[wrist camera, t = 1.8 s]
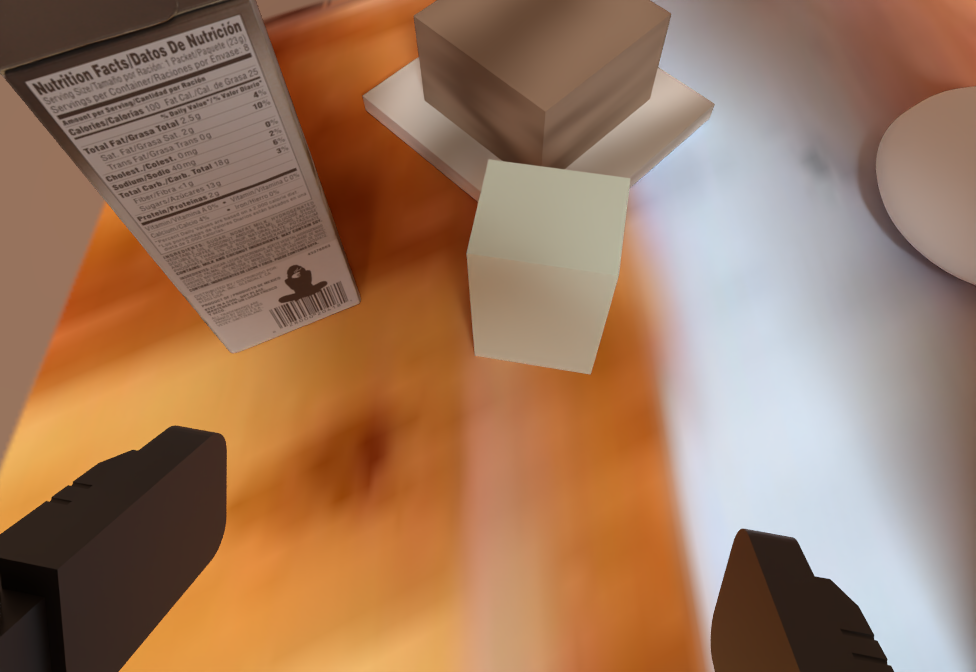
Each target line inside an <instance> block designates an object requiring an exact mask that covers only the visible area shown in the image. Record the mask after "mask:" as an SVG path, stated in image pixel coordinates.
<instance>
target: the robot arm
mask: <svg viewBox="0 0 976 672" xmlns="http://www.w3.org/2000/svg"><path fill="white" fill-rule="evenodd" d="M226 475H227V449H226V441H225V439H224V437H223V435H221V434H219V433H215V432H209V431H203V430H198V429H192V428H187V427H181V426H171V427H169V428H168V429H166V430H165V431H164V432H162V433H161V434H160V435H158V436H157V437H156V438H154V439H153V440H152V441H150V442H149V443H148V444H147V445H145V446H144V447H143V448H141V449H140V450H139V451H136V450H131V451H128V452H126V453H123V454H121V455H118V456H116V457H113V458H111V459H108V460H106V461H103V462H100V463H98V464H97V465H95V466H94V467H93V468H91V469H90V470H89V471H87V472H86V473H84V474H83V475H82V476H80V477H79V478H77V479H76V480H75V481H73V484H72V486H69V485H68V486H66V487H65V488H64V489H62V490H61V491H60V492H58V493H57V494H55V495H54V496H53V497H52V499H51V501H50V502H48V501H46V502H44V503H43V504H42V505H40V506H39V507H37V508H36V509H35V510H33V511H32V512H31V513H29V514H28V515H26V516H25V517H24V518H22V519H21V520H20V521H18V522H17V523H15V524H14V525H13V526H11V527H10V528H8V529H7V530H6V531H4V532H3V533H2V534H0V672H119V670H120V669H121V668H122V667H123V666H124V664H125V663H126V662H127V661H128V660H129V658H130V657H131V656H132V655H133V654H134V652H135V651H136V650H137V649H138V648H139V646H140V645H141V644H142V643H143V642H144V640H145V639H146V638H147V637H148V636H149V634H150V633H151V632H152V631H153V630H154V628H155V627H156V626H157V625H158V624H159V622H160V621H161V620H162V619H163V618H164V616H165V615H166V614H167V613H168V612H169V610H170V609H171V608H172V607H173V606H174V604H175V603H176V602H177V601H178V600H179V598H180V597H181V596H182V595H183V594H184V592H185V591H186V590H187V589H188V588H189V586H190V585H191V584H192V583H193V582H194V580H195V579H196V578H197V577H198V576H199V574H200V573H201V572H202V571H203V570H204V568H205V567H206V566H207V565H208V564H209V562H210V561H211V560H212V559H213V557H214V556H215V554H216V552H217V550H218V548H219V546H220V544H221V541H222V538H223V535H224V531H225V525H226ZM711 654H712V661H713V665H714V669H715V672H894V671H893V669H892V667H891V666H889V665H887V658H886V656H885V654H884V652H883V650H882V649H881V647H880V645H879V643H878V641H875V640H874V634H873V632H872V630H871V628H870V627H869V625H868V623H867V621H866V619H865V617H864V616H863V614H862V612H861V610H860V608H859V606H858V605H857V604H855V603H854V602H853V601H852V600H851V599H850V598H849V597H848V596H847V595H846V594H845V593H844V592H843V591H842V590H841V589H840V588H839V587H838V586H837V585H836V584H835V583H834V582H833V581H831V580H830V579H826V578H820V577H815V576H814V574H813V572H812V570H811V568H810V566H809V564H808V562H807V560H806V558H805V556H804V554H803V552H802V550H801V548H800V546H799V544H798V542H797V540H796V539H795V538H793V537H787V536H782V535H776V534H771V533H765V532H759V531H754V530H748V529H740V530H739V531H738V533H737V534H736V537H735V539H734V542H733V545H732V549H731V552H730V556H729V560H728V563H727V567H726V571H725V574H724V578H723V581H722V585H721V589H720V592H719V596H718V599H717V603H716V607H715V610H714V614H713V620H712V627H711Z"/></svg>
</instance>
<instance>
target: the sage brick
mask: <svg viewBox="0 0 976 672" xmlns="http://www.w3.org/2000/svg"><path fill="white" fill-rule="evenodd" d="M629 187H630V178H625V177H617V176H610V175H602V174H595V173H587V172H580V171H572V170H565V169H557V168H550V167H542V166H535V165H527V164H520V163H512V162H505V161H497V160H490V159H489V160H488V164H487V168H486V172H485V177H484V181H483V185H482V189H481V194H480V198H479V202H478V206H477V211H476V215H475V219H474V223H473V227H472V232H471V236H470V240H469V244H468V249H467V253H466V255H467V267H468V279H469V291H470V304H471V316H472V328H473V340H474V352H475V356H480V357H486V358H492V359H498V360H504V361H511V362H517V363H523V364H529V365H535V366H542V367H548V368H554V369H560V370H566V371H573V372H579V373H585V374H591V372H592V368H593V365H594V361H595V358H596V354H597V351H598V347H599V343H600V340H601V336H602V333H603V329H604V326H605V322H606V319H607V315H608V312H609V308H610V305H611V301H612V298H613V294H614V291H615V287H616V284H617V280H618V277H619V270H620V261H621V253H622V245H623V236H624V228H625V220H626V211H627V203H628V195H629Z"/></svg>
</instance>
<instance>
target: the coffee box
mask: <svg viewBox="0 0 976 672" xmlns="http://www.w3.org/2000/svg"><path fill="white" fill-rule="evenodd" d="M0 74H1V75H2V76H3V77H4V78H5V79H6V81H7V82H8V83H9V84H10V85H11V86H12V88H13V89H14V90H15V92H16V93H17V94H18V95H19V96H20V97H21V99H22V100H23V101H24V102H25V103H26V105H27V106H28V107H29V108H30V109H31V111H32V112H33V113H34V115H35V116H36V117H37V118H38V120H39V121H40V122H41V123H42V124H43V126H44V127H45V128H46V129H47V130H48V131H49V133H50V134H51V135H52V136H53V137H54V139H55V140H56V141H57V142H58V144H59V145H60V146H61V147H62V149H63V150H64V151H65V152H66V153H67V154H68V156H69V157H70V158H71V159H72V161H73V162H74V163H75V164H76V166H77V167H78V168H79V169H80V170H81V172H82V173H83V174H84V175H85V177H86V178H87V179H88V180H89V182H91V184H92V185H93V186H94V187H95V189H96V190H97V191H98V192H99V194H100V195H101V196H102V197H103V199H104V200H105V201H106V202H107V203H108V204H109V206H110V207H111V208H112V210H113V211H114V212H115V213H116V215H117V216H118V217H119V218H120V219H121V221H122V222H123V223H124V224H125V225H126V227H127V228H128V229H129V230H130V232H131V233H132V234H133V235H134V236H135V238H136V239H137V240H138V241H139V242H140V244H141V245H142V246H143V247H144V248H145V250H146V251H147V252H148V253H149V255H150V256H151V257H152V258H153V260H154V261H155V262H156V263H157V264H158V266H159V267H160V268H161V269H162V270H163V272H164V273H165V274H166V275H167V276H168V278H169V279H170V280H171V281H172V283H173V284H174V285H175V286H176V287H177V289H178V290H179V291H180V292H181V293H182V295H183V296H184V297H185V298H186V299H187V301H188V302H189V303H190V304H191V306H192V307H193V308H194V309H195V310H196V311H197V312H198V314H199V315H200V317H201V318H202V319H203V321H204V322H205V323H206V324H207V325H208V326H209V327H210V329H211V330H212V331H213V333H214V334H215V335H216V336H217V337H218V338H219V340H220V341H221V342H222V343H223V344H224V345H225V347H226V348H227V349H228V350H229V351H230V352H231V353H237V352H240V351H243V350H246V349H248V348H250V347H253V346H255V345H258V344H260V343H263V342H265V341H268V340H270V339H273V338H275V337H278V336H280V335H283V334H285V333H288V332H290V331H293V330H295V329H298V328H300V327H303V326H305V325H308V324H310V323H313V322H315V321H317V320H320V319H322V318H325V317H327V316H330V315H332V314H335V313H337V312H340V311H342V310H345V309H347V308H350V307H352V306H355V305H357V304H359V303H360V302H361V298H360V294H359V291H358V288H357V286H356V283H355V280H354V277H353V274H352V271H351V269H350V266H349V263H348V260H347V257H346V254H345V251H344V248H343V245H342V243H341V240H340V237H339V234H338V231H337V228H336V225H335V222H334V219H333V217H332V214H331V211H330V208H329V205H328V203H327V200H326V197H325V194H324V191H323V188H322V185H321V182H320V180H319V177H318V174H317V171H316V168H315V165H314V162H313V159H312V156H311V153H310V151H309V148H308V145H307V142H306V139H305V137H304V134H303V131H302V128H301V125H300V123H299V120H298V117H297V114H296V111H295V108H294V106H293V103H292V100H291V97H290V94H289V91H288V89H287V86H286V83H285V81H284V78H283V75H282V72H281V69H280V67H279V64H278V61H277V58H276V55H275V53H274V50H273V47H272V44H271V41H270V39H269V36H268V33H267V30H266V27H265V25H264V22H263V19H262V16H261V14H260V11H259V8H258V5H257V2H256V0H0Z"/></svg>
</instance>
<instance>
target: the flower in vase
mask: <svg viewBox="0 0 976 672" xmlns="http://www.w3.org/2000/svg"><path fill="white" fill-rule="evenodd" d="M876 175H877V182H878V187H879V191H880V194H881V197H882V201H883V204H884V206H885V208H886V210H887V212H888V215H889V216H890V218H891V220H892V221H893V223H894V224H895V226H896V228H897V229H898V230H899V231H900V232H901V234H902V235H903V236H904V237H905V239H906V240H907V241H908V242H909V243H910V244H911V245H912V246H913V247H914V248H915V249H916V250H917V251H919V252H920V253H921V254H922V255H924V256H925V257H926V258H927V259H928V260H930V261H931V262H932V263H934V264H935V265H937V266H938V267H940V268H941V269H943V270H944V271H946V272H948V273H950V274H952V275H954V276H956V277H957V278H959V279H961V280H963V281H966V282H968V283H971V284H973V285H976V86H973V87H965V88H958V89H953V90H949V91H945V92H942V93H939V94H936V95H933V96H931V97H929V98H927V99H925V100H923V101H921V102H920V103H918V104H917V105H915V106H913V107H912V108H910V109H909V110H907V111H906V112H904V113H903V114H902V115H900V116H899V117H898V118H897V119H896V120H895V121H894V122H893V123H892V124H891V125H890V126H889V128H888V129H887V131H886V132H885V133H884V135H883V137H882V140H881V142H880V144H879V147H878V151H877V156H876Z"/></svg>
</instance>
